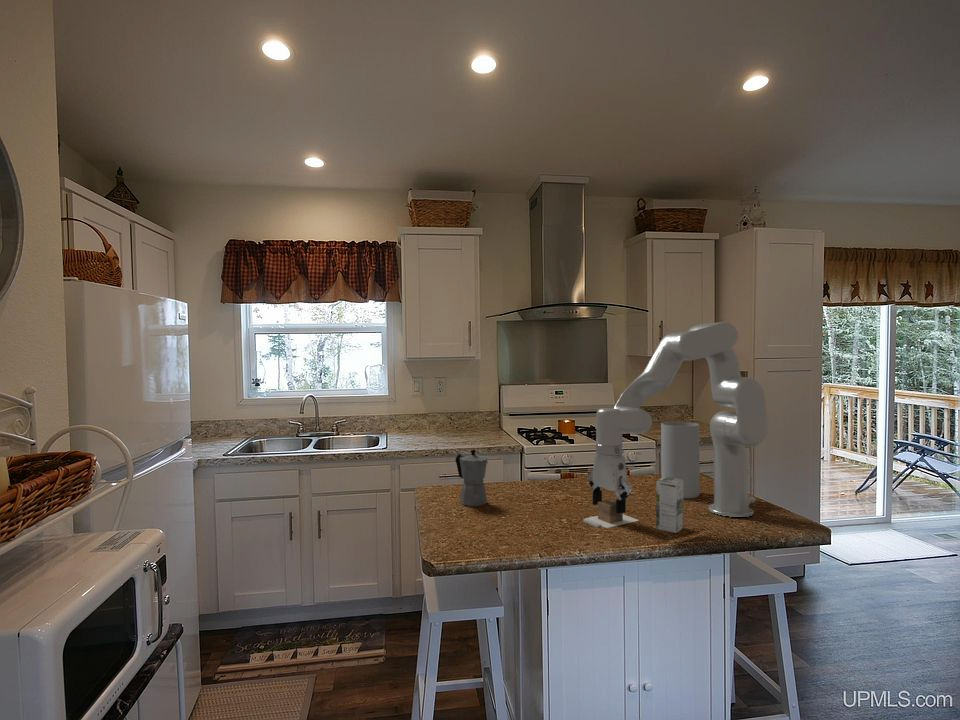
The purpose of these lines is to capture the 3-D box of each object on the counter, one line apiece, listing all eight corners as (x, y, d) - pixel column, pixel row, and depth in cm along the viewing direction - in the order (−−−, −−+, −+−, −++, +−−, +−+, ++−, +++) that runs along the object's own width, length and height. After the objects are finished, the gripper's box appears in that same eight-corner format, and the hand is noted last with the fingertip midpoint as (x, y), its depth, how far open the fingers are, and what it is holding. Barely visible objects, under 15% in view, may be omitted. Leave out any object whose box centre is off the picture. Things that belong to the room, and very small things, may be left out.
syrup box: (663, 526, 144) (662, 475, 144) (684, 530, 140) (683, 478, 140) (655, 531, 140) (655, 479, 140) (677, 536, 136) (677, 482, 136)
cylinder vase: (655, 494, 178) (654, 424, 178) (672, 488, 186) (671, 420, 186) (689, 501, 169) (688, 427, 169) (706, 494, 177) (705, 423, 177)
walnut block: (610, 516, 151) (610, 499, 151) (622, 520, 147) (622, 503, 147) (597, 518, 149) (597, 502, 149) (609, 523, 144) (609, 506, 144)
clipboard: (615, 512, 157) (615, 508, 157) (645, 523, 146) (645, 519, 146) (575, 521, 149) (575, 516, 149) (604, 533, 139) (604, 528, 139)
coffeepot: (497, 503, 168) (496, 450, 168) (476, 509, 162) (476, 453, 162) (466, 495, 179) (466, 444, 179) (446, 500, 173) (445, 448, 173)
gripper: (640, 454, 142) (640, 514, 142) (598, 445, 157) (597, 499, 157) (621, 456, 138) (620, 518, 138) (579, 446, 153) (579, 502, 153)
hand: (608, 508), depth 148 cm, fingers open, 9 cm apart
